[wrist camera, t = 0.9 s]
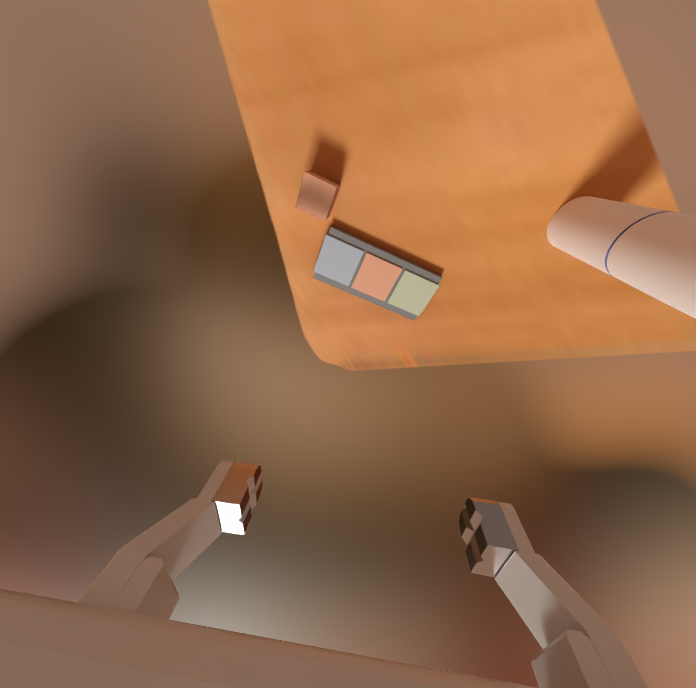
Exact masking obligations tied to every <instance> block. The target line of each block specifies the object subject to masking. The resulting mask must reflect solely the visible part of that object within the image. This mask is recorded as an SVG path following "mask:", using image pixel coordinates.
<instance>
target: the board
mask: <svg viewBox="0 0 696 688" xmlns="http://www.w3.org/2000/svg"><path fill="white" fill-rule="evenodd" d="M314 272H315V273H314V276H313V278H315V279H317V280H319V281H322V282H324V283H327V284H329V285H331V286H334V287H336V288H338V289H341V290H343V291H346V292H348V293H350V294H353V295H355V296H357V297H360V298H362V299H365V300H367V301H369V302H372V303H374V304H376V305H379V306H381V307H384V308H386V309H388V310H391V311H393V312H395V313H398V314H400V315H403V316H405V317H407V318H410V319H412V320H415V318H416V317H417V316H420V314H421V313H422V311H423V310H424V308H425V307H426V305H427V304H428V302H429V301H430V299H431V298H432V296H433V295H434V293H435V292H436V290H437V289H438V287H439V285H438V284H439V282H440V281H441V279H442V277H441V275H439V274H436V273H434V272H432V271H430V270H428V269H426V268H423V267H421V266H419V265H417V264H415V263H412V262H410V261H408V260H406V259H404V258H402V257H399V256H397V255H395V254H393V253H391V252H388V251H386V250H384V249H382V248H380V247H378V246H375V245H373V244H371V243H369V242H367V241H365V240H362V239H360V238H358V237H356V236H354V235H351V234H349V233H347V232H345V231H343V230H341V229H338V228H336V227H334V226H331V227H330V230H329V233H328V235H327V234H326V236H325V239H324V242H323V245H322V248H321V251H320V254H319V257H318V260H317V263H316V266H315V268H314Z"/></svg>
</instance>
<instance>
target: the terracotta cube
mask: <svg viewBox="0 0 696 688" xmlns="http://www.w3.org/2000/svg"><path fill="white" fill-rule="evenodd" d="M339 187H340V184H339V183H337V182H335V181H333V180H331V179H329V178H326V177H324V176H322V175H320V174H318V173H316V172H314V171H312V170H310V171H305V172H304V175H303V179H302V183H301V187H300V191H299V195H298V199H297V203H296V206H295V207H296V208H298V209H300V210H302V211H305V212H307V213H309V214H311V215H313V216H316V217H318V218H320V219H322V220H324V221H326V220H327V218H328V217H329V216H330V214H331V211H332V208H333V205H334V202H335V199H336V196H337V193H338V190H339Z"/></svg>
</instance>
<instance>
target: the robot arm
mask: <svg viewBox="0 0 696 688" xmlns="http://www.w3.org/2000/svg"><path fill="white" fill-rule="evenodd" d="M261 472H262V470H261V466H259V465H253V464H247V463H242V462H236V461H230V460H222V461H221V462H220V463H219V464H218V466H217V467H216V469H215V471H214V472H213V474H212V475H211V477H210V479H209V480H208V482H207V483H206V485H205V486H204V488H203V490H202V491H201V493H200V494H199V496H198V497H197V499H191V500H190V501H188V502H187V503H185V504H184V505H183V506H181V507H180V508H178V509H177V510H176V511H174V512H172V513H171V514H170V515H168V516H167V517H165V518H164V519H162V520H161V521H159V522H158V523H156V524H155V525H154V526H152V527H151V528H149V529H148V530H146V531H145V532H143V533H142V534H141V535H139V536H138V537H136V538H135V539H133V540H132V541H130V542H129V543H127V544H126V545H125V546H123V547H122V548H120V549H119V550H118V551H117V553H116V554H115V555H114V557H113V558H112V559H111V560H110V562H109V563H108V564H107V566H106V567H105V568H104V570H103V571H102V572H101V574H100V575H99V576H98V578H97V579H96V580H95V581H94V583H93V584H92V585H91V586H90V588H89V589H88V590H87V592H86V593H85V594H84V596H83V597H82V598H81V599H80V601H79V602H78V603H77V602H71V601H66V600H61V599H55V598H49V597H44V596H38V595H33V594H28V593H22V592H17V591H12V590H6V589H0V688H535V687H529V686H524V685H519V684H514V683H508V682H502V681H497V680H492V679H486V678H481V677H475V676H470V675H465V674H459V673H454V672H448V671H443V670H438V669H433V668H427V667H422V666H416V665H411V664H406V663H400V662H395V661H389V660H384V659H378V658H373V657H368V656H362V655H357V654H352V653H346V652H341V651H335V650H330V649H325V648H319V647H314V646H308V645H303V644H298V643H292V642H287V641H282V640H276V639H270V638H265V637H259V636H255V635H249V634H244V633H238V632H233V631H227V630H222V629H216V628H211V627H206V626H201V625H195V624H190V623H185V622H179V621H173V620H169V618H170V616H171V614H172V612H173V610H174V608H175V606H176V604H177V602H178V600H179V596H178V592H177V590H176V588H175V586H174V584H173V580H174V579H175V578H176V577H177V576H178V575H179V574H180V573H181V572H182V571H183V570H184V569H185V568H186V567H187V566H188V565H189V564H190V563H191V562H192V561H193V560H194V559H195V558H197V557H198V556H199V555H200V554H201V553H202V552H203V551H204V550H205V549H206V548H207V547H208V546H209V545H210V544H211V543H212V542H213V541H214V540H215V539H216V538H217V537H218V536H219V535H220V534H221V532H229V533H237V534H243V535H244V534H245V531H246V529H247V526H248V524H249V522H250V519H251V517H252V513H251V508H253V507H254V506H255V505H256V504H257V502H258V500H259V497H260V494H261V490H262V483H263V482H262V478H261V477H260V474H261ZM465 505H466V508H464V509H462V510H461V512H460V514H459V530H460V534H461V537H462V539H463V540H464V541H465V542H466V544H467V547H466V549H465V553H466V557H467V561H468V565H469V569H470V572H471V573H475V574H480V575H486V576H491V577H495V580H496V581H497V583H498V584H499V586H500V587H501V589H502V590H503V592H504V593H505V594H506V596H507V597H508V599H509V600H510V602H511V603H512V605H513V606H514V607H515V609H516V610H517V612H518V613H519V615H520V616H521V618H522V619H523V621H524V622H525V623H526V625H527V626H528V628H529V629H530V631H531V632H532V634H533V635H534V637H535V638H536V639H537V641H538V642H539V644H540V645H541V647H542V648H543V650H542V651H541V652H539V653H538V654H537V655H536V656H535V657H533V660H532V661H531V664H532V667H533V670H534V673H535V676H536V679H537V682H538V685H539V688H648V686H647V685H646V683H645V681H644V679H643V678H642V676H641V674H640V672H639V671H638V669H637V667H636V665H635V664H634V662H633V660H632V658H631V657H630V655H629V653H628V651H627V649H626V648H625V646H624V644H623V643H622V641H621V639H620V637H619V636H618V635H617V634H616V633H615V632H614V631H613V630H612V629H611V628H610V627H609V626H608V625H607V624H606V623H605V622H604V621H603V620H602V619H601V618H600V617H599V616H598V614H597V613H596V612H595V611H594V610H593V609H592V608H591V607H590V606H589V605H588V604H587V603H586V602H585V601H584V600H583V599H582V598H581V597H580V596H579V595H578V594H577V593H576V592H575V591H574V590H573V589H572V588H571V587H570V586H569V585H568V584H567V583H566V582H565V580H563V579H562V577H561V576H560V575H559V574H558V573H557V572H556V571H555V570H554V569H553V568H552V567H551V566H550V565H549V564H548V563H547V562H546V561H545V560H544V559H543V558H542V557H541V556H540V555H538V554H535V553H534V550H533V548H532V546H531V544H530V542H529V540H528V537H527V536H526V533H525V531H524V530H523V527H522V525H521V523H520V520H519V518H518V516H517V514H516V512H515V510H514V508H513V506H512V505H511V504H509V503H502V502H495V501H491V500H484V499H476V498H468V499H467V500H466V502H465Z"/></svg>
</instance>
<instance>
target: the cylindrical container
mask: <svg viewBox="0 0 696 688" xmlns="http://www.w3.org/2000/svg"><path fill="white" fill-rule="evenodd" d="M547 238H548V240H549V242H550V243H551V244H552V245H553V246H554V247H556V248H558V249H560V250H562V251H564V252H566V253H568V254H570V255H572V256H574V257H576V258H578V259H580V260H582V261H584V262H586V263H587V264H589V265H591V266H593V267H595V268H597V269H599V270H601V271H603V272H605V273H607V274H609V275H611V276H613V277H615V278H617V279H619V280H621V281H623V282H625V283H627V284H629V285H631V286H633V287H635V288H637V289H638V290H640V291H642V292H644V293H646V294H648V295H650V296H652V297H654V298H656V299H658V300H660V301H662V302H664V303H666V304H668V305H670V306H672V307H674V308H676V309H678V310H679V311H681V312H683V313H685V314H687V315H689V316H691V317H693V318H695V319H696V216H693V215H687V214H682V213H677V212H671V211H666V210H660V209H655V208H650V207H644V206H639V205H634V204H629V203H623V202H618V201H613V200H607V199H602V198H597V197H592V196H583V197H578V198H575V199H573V200H571V201H569V202H567V203H566V204H565V205H563V206H562V207H561V208H560V209H559V210H558V211H557V212H556V213H555V214H554V215H553V217H552V219H551V220H550V222H549V225H548V228H547Z"/></svg>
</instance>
